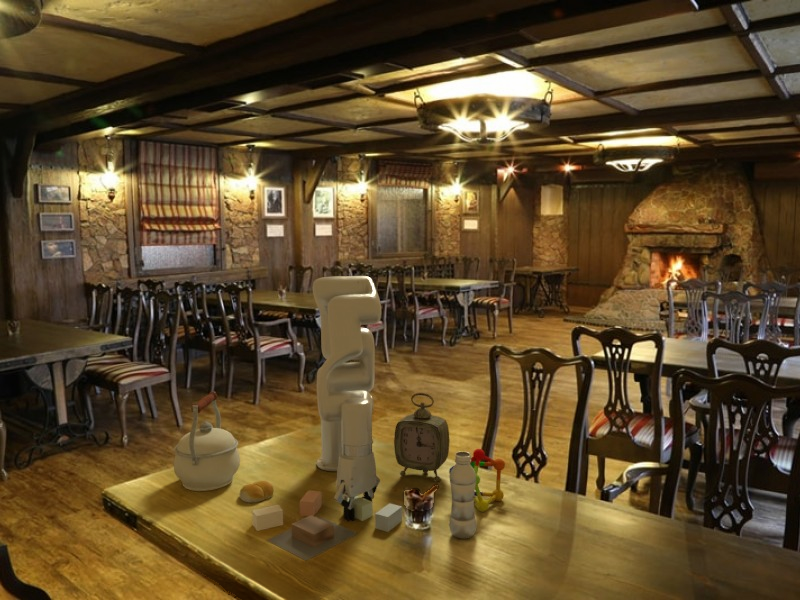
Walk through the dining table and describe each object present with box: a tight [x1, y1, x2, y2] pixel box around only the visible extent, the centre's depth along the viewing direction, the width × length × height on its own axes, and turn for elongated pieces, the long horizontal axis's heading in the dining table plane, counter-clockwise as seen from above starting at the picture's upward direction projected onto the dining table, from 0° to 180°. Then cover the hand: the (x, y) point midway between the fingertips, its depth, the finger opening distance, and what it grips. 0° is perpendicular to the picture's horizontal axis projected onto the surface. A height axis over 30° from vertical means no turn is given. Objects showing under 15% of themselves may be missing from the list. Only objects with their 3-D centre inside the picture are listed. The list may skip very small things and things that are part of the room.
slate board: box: [266, 515, 359, 562], centre depth 149 cm, size 16×14×1 cm
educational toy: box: [448, 448, 506, 512], centre depth 168 cm, size 16×13×15 cm
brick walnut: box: [291, 515, 334, 547], centre depth 148 cm, size 6×8×3 cm
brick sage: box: [347, 495, 373, 522], centre depth 160 cm, size 6×4×5 cm, turn 49°
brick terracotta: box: [299, 490, 323, 517], centre depth 162 cm, size 6×4×5 cm, turn 169°
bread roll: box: [239, 480, 275, 504], centre depth 174 cm, size 8×9×4 cm
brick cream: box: [251, 504, 284, 532], centre depth 155 cm, size 6×4×5 cm, turn 119°
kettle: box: [173, 391, 241, 492], centre depth 184 cm, size 25×18×25 cm
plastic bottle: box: [448, 451, 478, 540], centre depth 150 cm, size 6×7×20 cm
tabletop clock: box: [393, 392, 451, 483], centre depth 186 cm, size 14×9×25 cm, turn 67°
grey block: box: [374, 502, 403, 533], centre depth 154 cm, size 6×4×5 cm, turn 149°
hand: (358, 517), depth 160 cm, fingers open, 5 cm apart
